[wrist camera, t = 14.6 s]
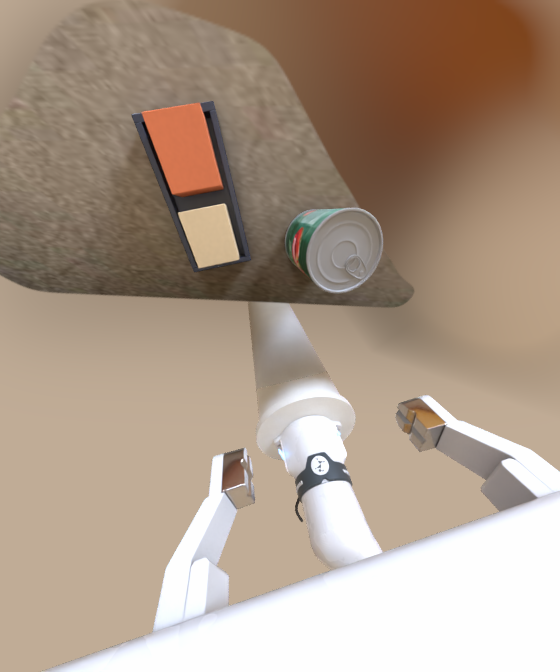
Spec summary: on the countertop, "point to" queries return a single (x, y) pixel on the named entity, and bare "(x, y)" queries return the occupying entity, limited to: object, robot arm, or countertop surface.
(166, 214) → the countertop surface
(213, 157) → the orange block
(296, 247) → the canned tomato
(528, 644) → the robot arm
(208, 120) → the frame
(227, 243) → the cream block
